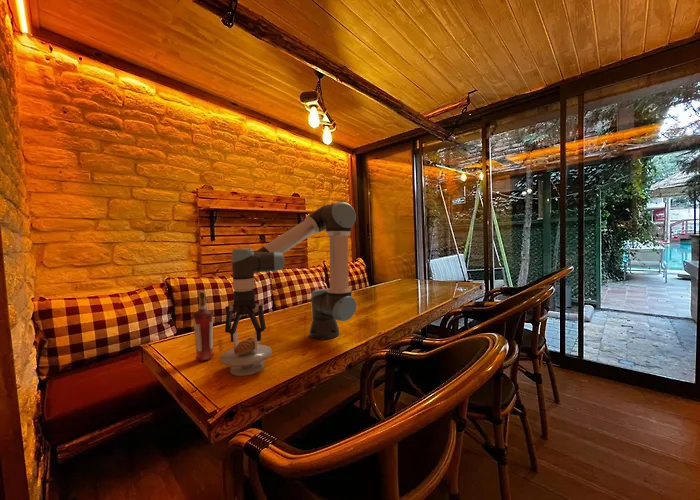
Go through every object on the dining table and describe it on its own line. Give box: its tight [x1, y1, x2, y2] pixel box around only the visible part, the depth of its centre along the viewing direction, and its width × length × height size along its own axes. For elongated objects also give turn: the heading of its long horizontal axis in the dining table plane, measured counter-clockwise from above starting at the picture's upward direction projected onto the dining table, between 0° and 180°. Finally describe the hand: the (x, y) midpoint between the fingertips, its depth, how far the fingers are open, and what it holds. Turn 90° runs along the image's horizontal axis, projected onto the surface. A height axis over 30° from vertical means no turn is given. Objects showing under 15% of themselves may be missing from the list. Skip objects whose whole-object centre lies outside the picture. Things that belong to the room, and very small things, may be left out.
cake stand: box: [220, 343, 272, 377], centre depth 109 cm, size 18×18×6 cm
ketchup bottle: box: [192, 291, 215, 362], centre depth 119 cm, size 7×7×28 cm
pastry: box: [234, 337, 255, 354], centre depth 108 cm, size 9×7×4 cm
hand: (246, 349), depth 109 cm, fingers closed on pastry, 7 cm apart
